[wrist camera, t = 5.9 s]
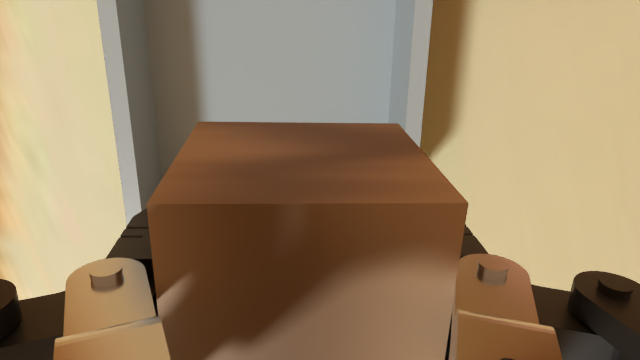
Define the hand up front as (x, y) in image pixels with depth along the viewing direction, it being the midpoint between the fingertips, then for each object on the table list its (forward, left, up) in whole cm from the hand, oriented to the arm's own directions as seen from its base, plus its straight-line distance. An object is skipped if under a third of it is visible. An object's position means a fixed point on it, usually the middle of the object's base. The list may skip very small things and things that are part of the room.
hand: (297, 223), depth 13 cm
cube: (0, 0, 0) cm, 1 cm away
